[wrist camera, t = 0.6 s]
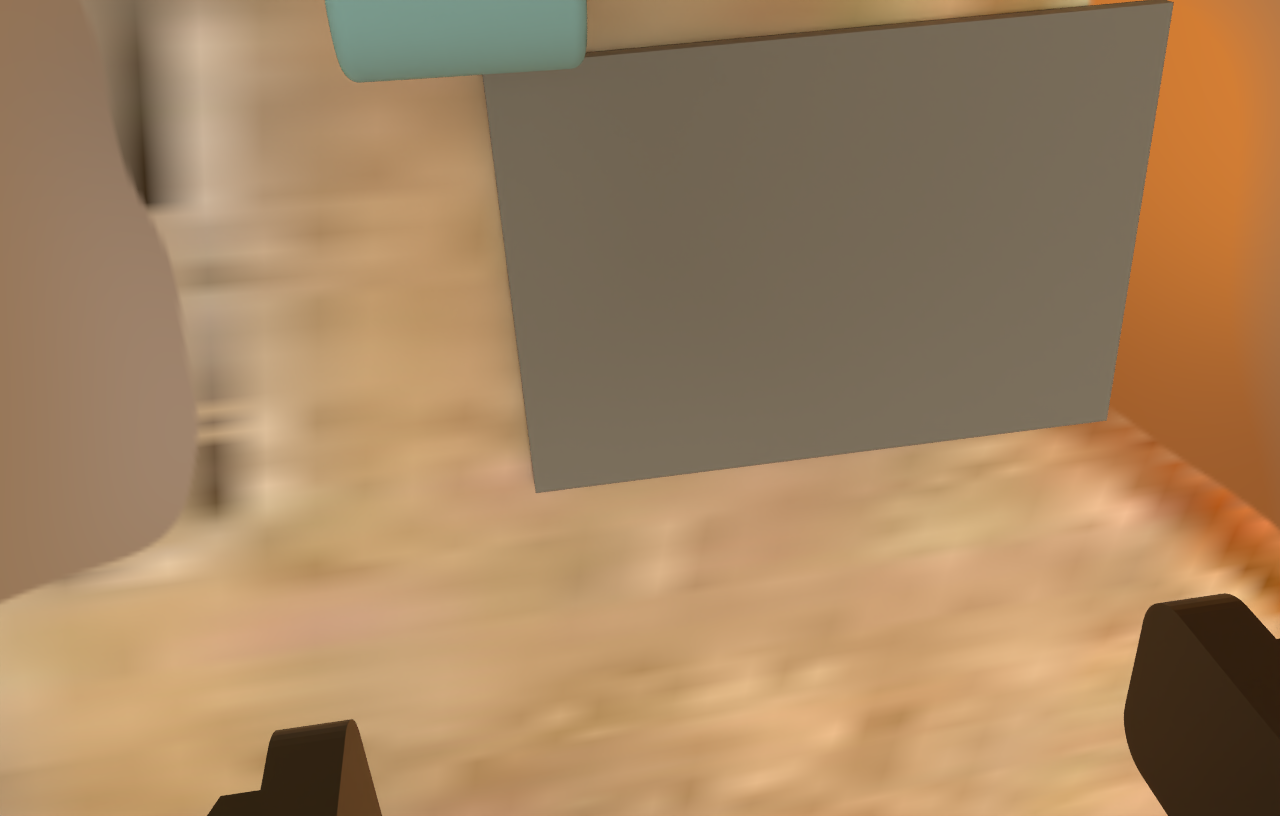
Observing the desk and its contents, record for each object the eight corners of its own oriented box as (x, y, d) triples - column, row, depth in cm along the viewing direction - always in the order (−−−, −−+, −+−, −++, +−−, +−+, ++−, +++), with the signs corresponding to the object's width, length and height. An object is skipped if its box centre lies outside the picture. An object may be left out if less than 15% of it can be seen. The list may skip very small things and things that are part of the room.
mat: (481, 62, 32) (481, 67, 31) (1162, -2, 34) (1173, 2, 33) (535, 483, 39) (536, 493, 38) (1098, 412, 41) (1106, 420, 40)
